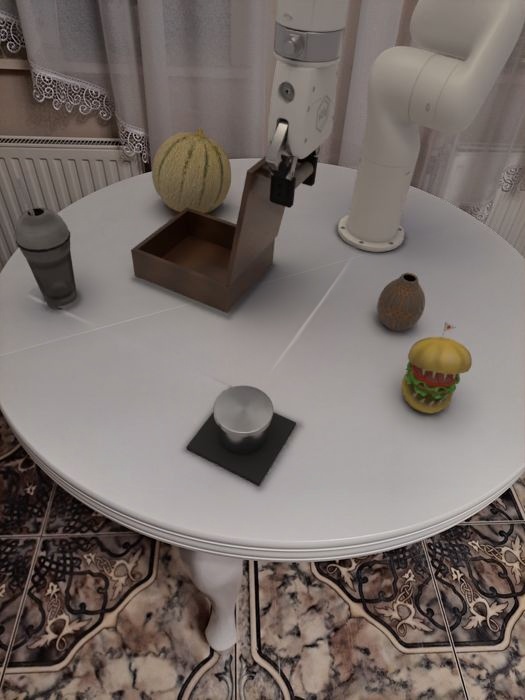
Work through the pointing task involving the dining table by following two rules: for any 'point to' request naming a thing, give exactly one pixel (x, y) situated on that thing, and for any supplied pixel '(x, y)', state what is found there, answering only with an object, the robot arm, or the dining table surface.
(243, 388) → the bowl
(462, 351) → the hamburger
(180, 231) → the chest
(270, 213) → the lid
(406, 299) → the vase
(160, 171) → the cantaloupe
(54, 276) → the beverage cup
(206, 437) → the mat
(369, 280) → the dining table surface
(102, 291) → the dining table surface
